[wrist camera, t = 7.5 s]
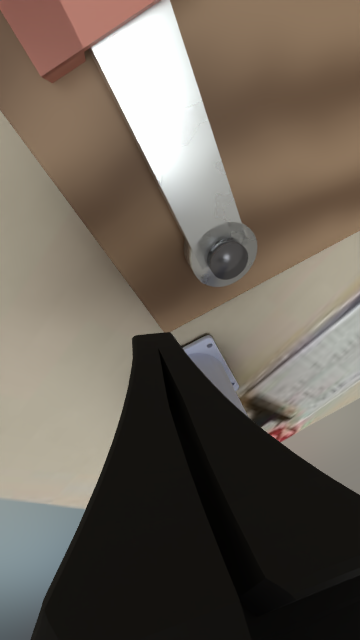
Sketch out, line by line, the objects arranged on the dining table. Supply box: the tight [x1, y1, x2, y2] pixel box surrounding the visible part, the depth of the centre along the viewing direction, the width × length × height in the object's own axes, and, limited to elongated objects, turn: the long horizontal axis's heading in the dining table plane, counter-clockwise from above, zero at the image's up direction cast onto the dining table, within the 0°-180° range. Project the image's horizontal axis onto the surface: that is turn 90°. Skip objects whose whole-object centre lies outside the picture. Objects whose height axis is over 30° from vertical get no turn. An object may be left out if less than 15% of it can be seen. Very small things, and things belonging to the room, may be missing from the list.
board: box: [0, 0, 360, 333], centre depth 14 cm, size 20×19×1 cm
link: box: [89, 0, 257, 287], centre depth 12 cm, size 16×4×2 cm, turn 26°
